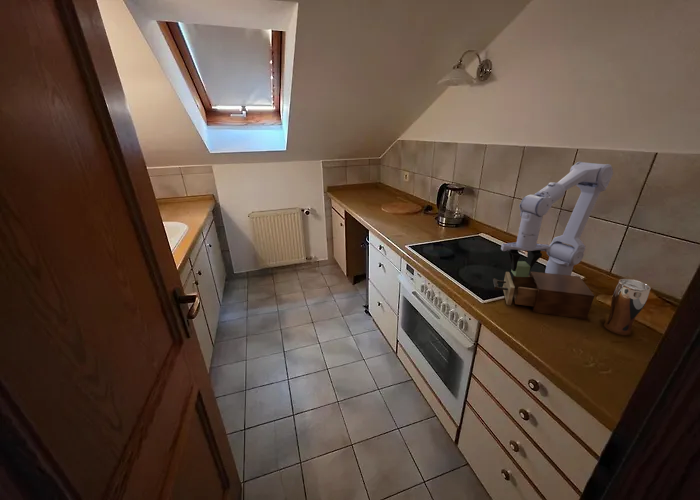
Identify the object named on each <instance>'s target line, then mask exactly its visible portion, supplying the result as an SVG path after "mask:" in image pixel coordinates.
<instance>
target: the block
mask: <svg viewBox="0 0 700 500" xmlns="http://www.w3.org/2000/svg"><path fill="white" fill-rule="evenodd" d="M510 269H511V268H510ZM529 271H530V272H531V270H530V266H529V265H528V264H527V263H526V261H525V260H524V261H523V260H518V263H517V268H516V271H513V270H512V269H511V270H510V272H511V273H512V275H514V276H515V277H528V276H530V272H529Z"/></svg>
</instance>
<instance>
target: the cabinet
mask: <svg viewBox="0 0 700 500" xmlns="http://www.w3.org/2000/svg"><path fill="white" fill-rule="evenodd" d="M529 276H532V278H533V280H534V282H535V284H536V287H537V289H538V292H537V296H536V300H535V304H534V307H533V306H530V307H531V310H532V313H539V314H546V315H552V316H560V317H567V318H574V319H581V320H587V319H588V316H589V315H590V314H589V313H590V310H591V308H592V304H593V301H594V298H595V293H593V292H592V290H591V289H590V287H589V286H588V285H587V284H586V282H585V281H584V280H583V279H582V277H581V276H579V275H571V276H569V275H560V274H551V273H545V272H541V271H540V272H539V271H531V270H530V272H529Z"/></svg>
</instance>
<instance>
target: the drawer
mask: <svg viewBox="0 0 700 500" xmlns="http://www.w3.org/2000/svg"><path fill="white" fill-rule="evenodd" d="M510 272H511V271H505V274H504V279H503V280H500V279H497V278H492V285H493V288H494V291H498V290H502V291H503V295H504V299H505V303H506V305H507V306H512V302H514V304H515V305H518V306H519V305H520V306H525V307H526V306H527V307H531V306H533V307H534V304H535V300H536V296H537V292H538V289H537V287H536V284H535V282H534V280H533V278H532V276H530V275H528V277H515V276H514V274H512V275H513V276H511V273H510ZM499 283H500V284H501V283H502V284H503V285H502V286H499Z"/></svg>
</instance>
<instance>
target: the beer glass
mask: <svg viewBox="0 0 700 500" xmlns="http://www.w3.org/2000/svg"><path fill="white" fill-rule="evenodd" d="M651 289H652V288H651V286H650V285H648V284H647V283H645V282H643V281H640V280H637V279H633V278H620V279H619V280H618V282H617V285H616V287H615V288H614V291H613V292H612V296H611V302H610V310H609V315H608V317H607V319H606V320H605V321H604V323H603V326H604V328H605V329H606V330H608V331H609V332H611V333H614V334H615V335H616V334H617V335H620V336H629V335H631V333H632V328H633V324H634V322H635V320H636V318H637V317H638V315H639V314H641V312H642V311H643V309H644V308H645V305H646V304H647V302H648V299H649V295H650V292H651Z"/></svg>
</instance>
